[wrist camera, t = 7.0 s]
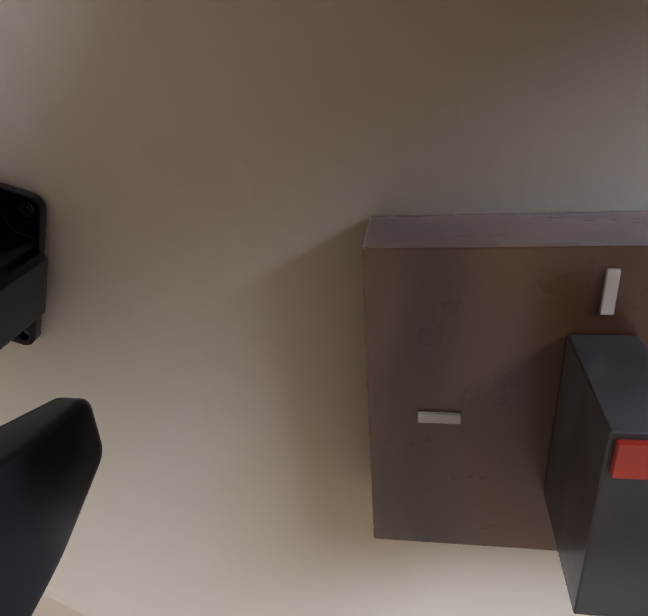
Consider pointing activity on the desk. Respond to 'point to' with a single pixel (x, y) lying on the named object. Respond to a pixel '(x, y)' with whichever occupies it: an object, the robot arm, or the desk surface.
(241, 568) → the desk surface
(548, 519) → the base
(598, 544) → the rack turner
